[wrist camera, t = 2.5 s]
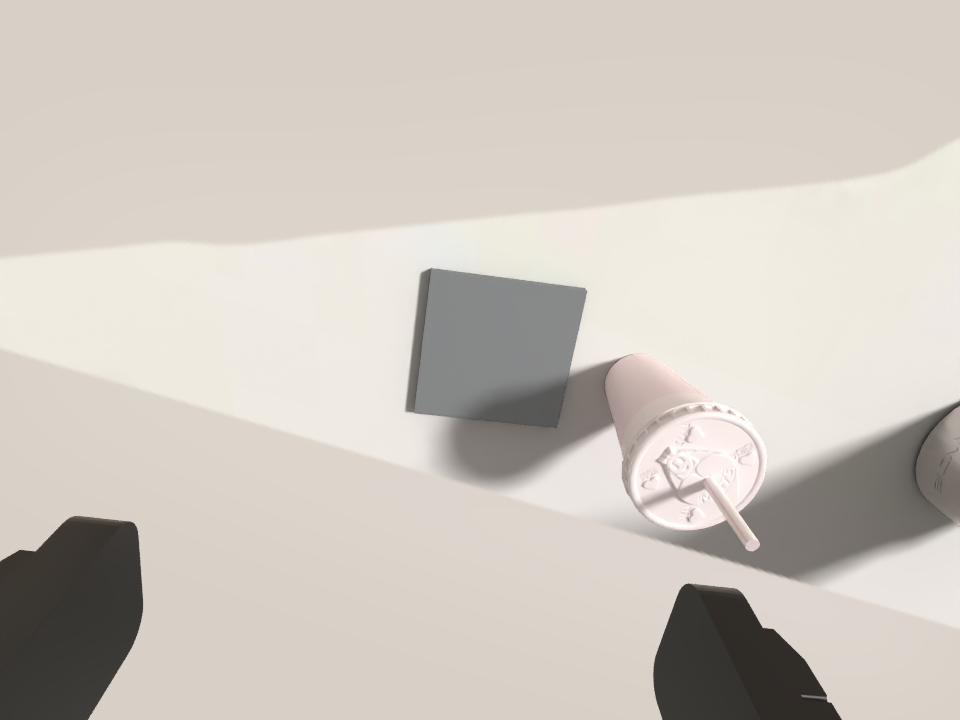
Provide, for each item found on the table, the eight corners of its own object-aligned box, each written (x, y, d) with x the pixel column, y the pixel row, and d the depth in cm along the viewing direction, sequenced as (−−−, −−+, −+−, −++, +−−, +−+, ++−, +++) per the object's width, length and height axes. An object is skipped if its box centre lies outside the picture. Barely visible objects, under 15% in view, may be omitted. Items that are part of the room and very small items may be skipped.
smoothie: (643, 446, 38) (746, 625, 25) (560, 398, 36) (624, 563, 23) (711, 366, 36) (861, 515, 23) (627, 311, 34) (737, 438, 21)
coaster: (584, 288, 33) (587, 291, 33) (554, 422, 37) (556, 427, 36) (431, 268, 33) (430, 271, 32) (414, 408, 36) (414, 412, 35)
